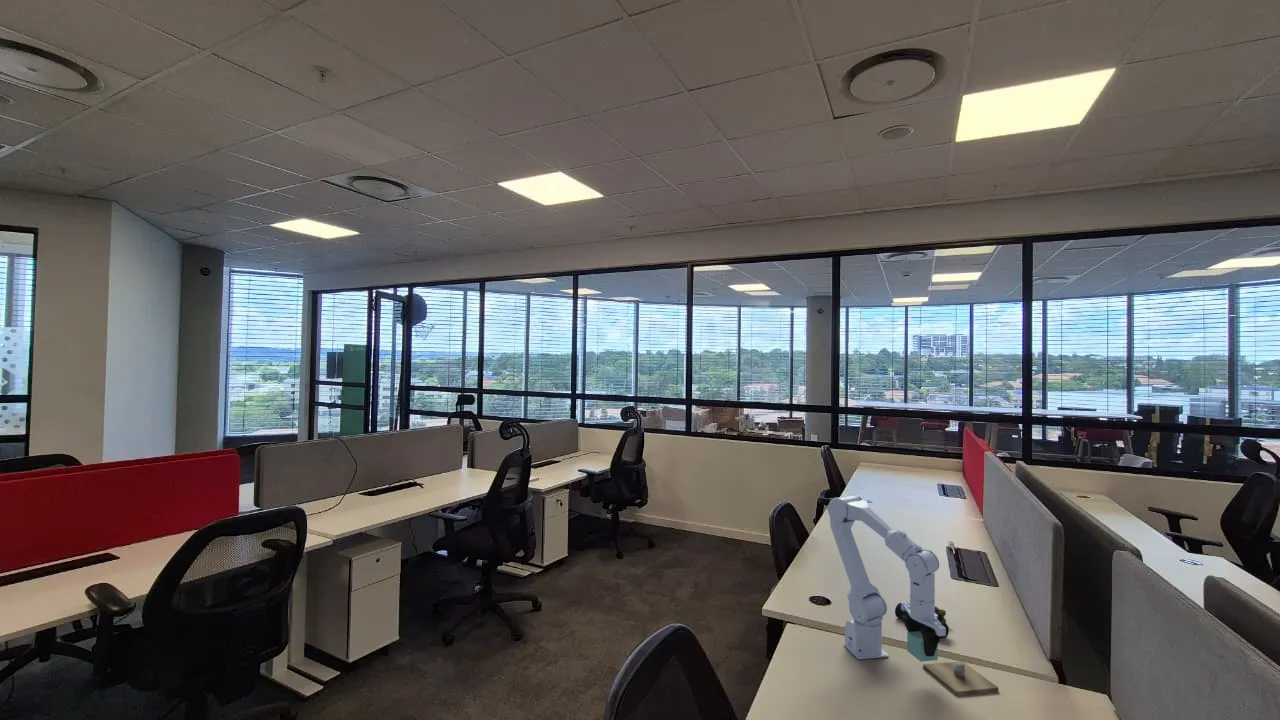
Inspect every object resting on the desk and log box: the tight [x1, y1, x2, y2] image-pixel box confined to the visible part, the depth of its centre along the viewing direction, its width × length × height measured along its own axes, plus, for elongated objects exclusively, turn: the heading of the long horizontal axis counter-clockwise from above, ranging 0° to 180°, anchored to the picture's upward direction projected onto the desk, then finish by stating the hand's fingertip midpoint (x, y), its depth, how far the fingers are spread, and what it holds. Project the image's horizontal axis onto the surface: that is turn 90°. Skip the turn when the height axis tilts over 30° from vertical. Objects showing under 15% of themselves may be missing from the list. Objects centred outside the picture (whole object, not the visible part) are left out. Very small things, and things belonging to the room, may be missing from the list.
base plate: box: [922, 660, 999, 697], centre depth 136 cm, size 12×12×4 cm
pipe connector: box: [894, 602, 950, 640], centre depth 164 cm, size 12×5×15 cm
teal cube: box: [906, 631, 939, 662], centre depth 135 cm, size 5×5×5 cm
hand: (922, 649), depth 135 cm, fingers closed on teal cube, 5 cm apart
